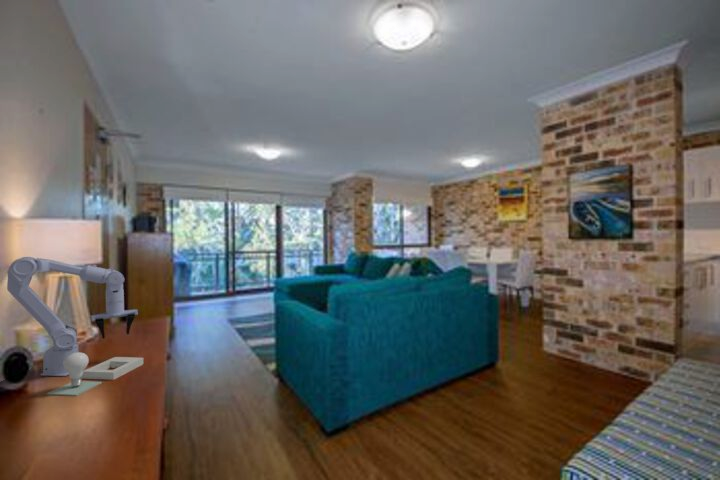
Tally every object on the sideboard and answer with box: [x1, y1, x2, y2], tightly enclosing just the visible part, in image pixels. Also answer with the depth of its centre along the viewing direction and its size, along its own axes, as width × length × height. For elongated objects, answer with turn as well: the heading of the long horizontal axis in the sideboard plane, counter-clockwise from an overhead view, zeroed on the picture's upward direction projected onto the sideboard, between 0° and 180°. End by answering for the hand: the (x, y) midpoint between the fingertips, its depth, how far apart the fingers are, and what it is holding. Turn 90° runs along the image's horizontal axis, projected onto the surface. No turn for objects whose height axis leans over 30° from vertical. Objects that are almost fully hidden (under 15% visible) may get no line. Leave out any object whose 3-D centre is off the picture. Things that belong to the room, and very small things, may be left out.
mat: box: [46, 380, 103, 397], centre depth 105 cm, size 10×9×1 cm
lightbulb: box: [63, 351, 90, 387], centre depth 106 cm, size 6×6×11 cm
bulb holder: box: [82, 356, 144, 381], centre depth 119 cm, size 12×14×2 cm
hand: (115, 335), depth 128 cm, fingers open, 7 cm apart
